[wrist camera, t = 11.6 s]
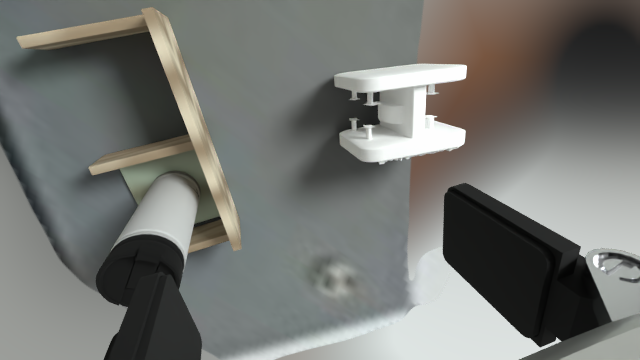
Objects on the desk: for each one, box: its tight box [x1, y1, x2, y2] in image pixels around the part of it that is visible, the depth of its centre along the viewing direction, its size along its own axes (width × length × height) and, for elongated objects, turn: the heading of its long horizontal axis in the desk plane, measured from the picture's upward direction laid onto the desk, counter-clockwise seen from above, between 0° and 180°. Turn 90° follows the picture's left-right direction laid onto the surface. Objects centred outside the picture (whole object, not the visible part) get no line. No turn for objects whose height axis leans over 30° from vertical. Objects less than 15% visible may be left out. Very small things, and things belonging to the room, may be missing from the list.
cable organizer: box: [334, 64, 467, 164], centre depth 41 cm, size 15×11×12 cm
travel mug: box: [96, 171, 201, 307], centre depth 33 cm, size 6×7×20 cm
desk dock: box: [16, 7, 241, 253], centre depth 36 cm, size 28×13×8 cm, turn 11°
